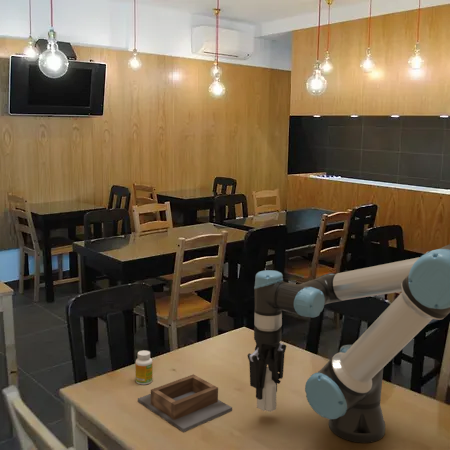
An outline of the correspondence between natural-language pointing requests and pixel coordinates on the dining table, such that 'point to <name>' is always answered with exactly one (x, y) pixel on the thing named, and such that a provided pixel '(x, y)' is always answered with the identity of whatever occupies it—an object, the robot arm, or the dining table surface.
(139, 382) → the supplement bottle
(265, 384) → the eye dropper bottle
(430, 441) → the dining table surface
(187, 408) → the bottle holder
